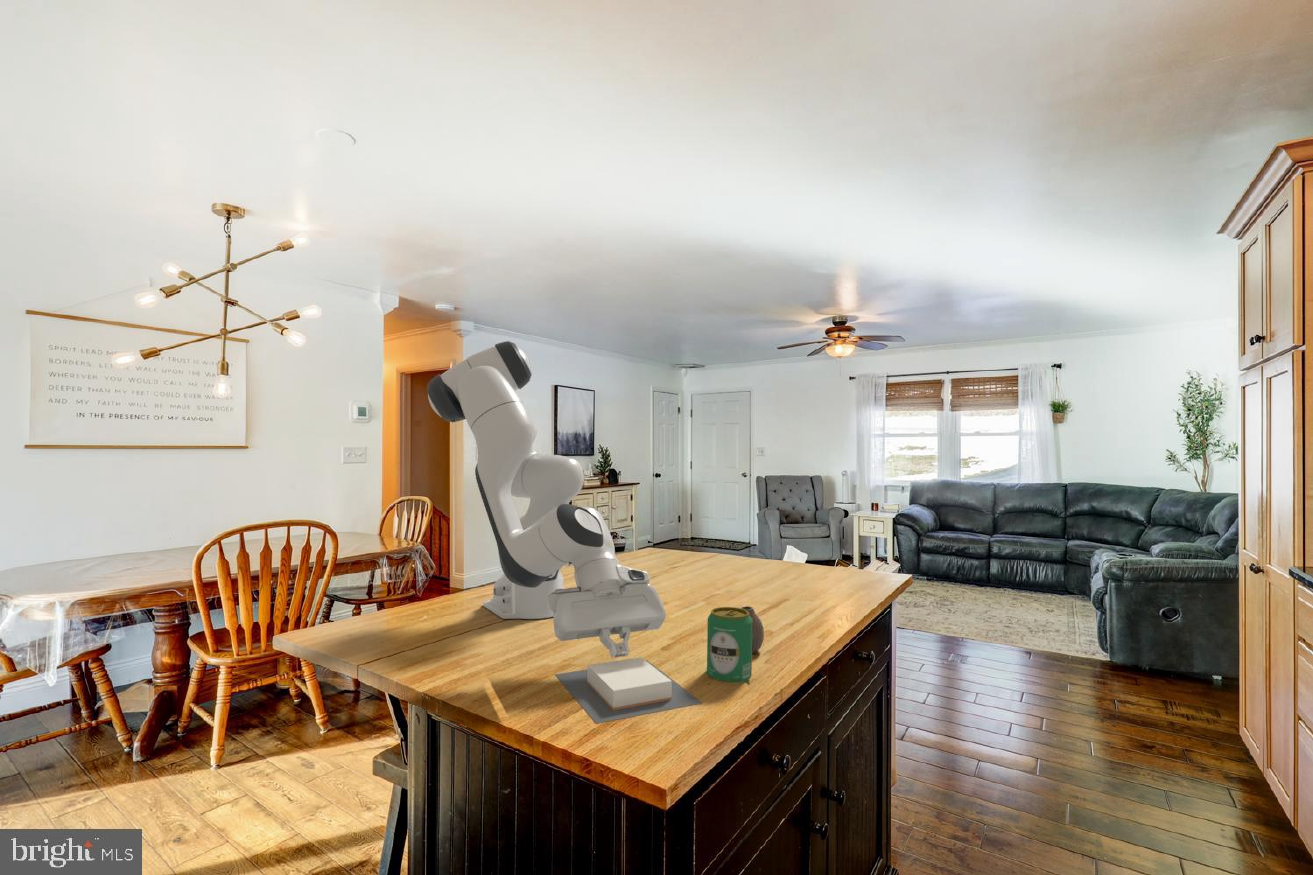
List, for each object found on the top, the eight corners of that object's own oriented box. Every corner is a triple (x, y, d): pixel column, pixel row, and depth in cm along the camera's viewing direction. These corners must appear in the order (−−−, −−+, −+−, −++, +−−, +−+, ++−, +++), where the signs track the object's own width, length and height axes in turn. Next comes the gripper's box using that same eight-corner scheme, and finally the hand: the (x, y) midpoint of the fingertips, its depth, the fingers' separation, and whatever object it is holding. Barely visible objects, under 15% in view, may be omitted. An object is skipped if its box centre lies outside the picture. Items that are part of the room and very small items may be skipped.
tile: (587, 664, 105) (613, 690, 94) (640, 657, 109) (671, 680, 99) (587, 682, 105) (613, 710, 94) (640, 674, 109) (671, 699, 99)
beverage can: (700, 682, 109) (701, 614, 109) (714, 668, 116) (715, 604, 116) (744, 690, 105) (745, 620, 106) (756, 675, 113) (757, 609, 113)
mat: (554, 679, 109) (554, 674, 109) (647, 665, 116) (647, 660, 116) (595, 730, 90) (595, 723, 90) (702, 709, 98) (703, 702, 98)
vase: (722, 650, 126) (723, 607, 126) (742, 642, 131) (743, 601, 131) (751, 658, 121) (751, 614, 121) (770, 650, 126) (770, 607, 127)
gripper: (550, 580, 107) (566, 654, 98) (656, 571, 116) (679, 638, 107) (542, 600, 111) (557, 672, 102) (645, 590, 120) (667, 656, 111)
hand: (620, 655), depth 105 cm, fingers closed
